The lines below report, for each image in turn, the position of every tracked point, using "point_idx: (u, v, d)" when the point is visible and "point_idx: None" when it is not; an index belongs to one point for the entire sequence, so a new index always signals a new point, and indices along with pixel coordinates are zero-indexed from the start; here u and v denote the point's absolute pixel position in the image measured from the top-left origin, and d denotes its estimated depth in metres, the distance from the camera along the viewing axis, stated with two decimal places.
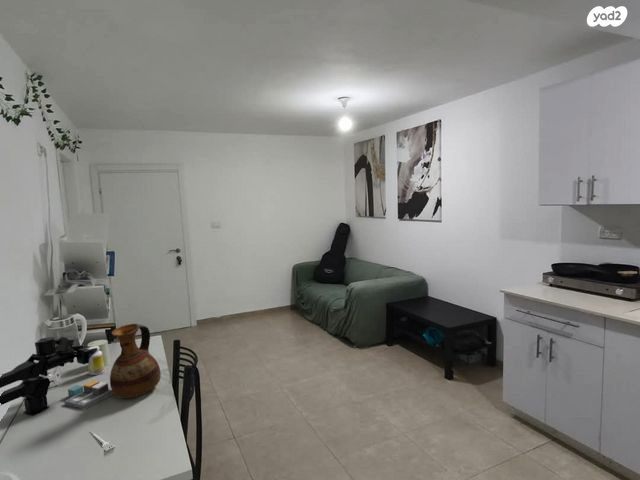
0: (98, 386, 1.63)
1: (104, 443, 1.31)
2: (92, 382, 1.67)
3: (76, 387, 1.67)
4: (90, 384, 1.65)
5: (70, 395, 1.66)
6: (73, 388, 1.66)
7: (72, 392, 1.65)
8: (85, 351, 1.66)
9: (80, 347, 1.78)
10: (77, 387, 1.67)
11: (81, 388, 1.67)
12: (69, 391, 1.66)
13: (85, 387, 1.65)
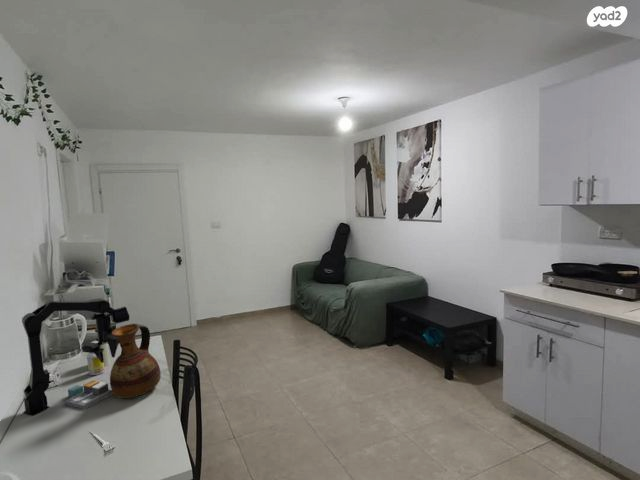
0: (98, 386, 1.63)
1: (104, 443, 1.31)
2: (92, 382, 1.67)
3: (76, 387, 1.67)
4: (90, 384, 1.65)
5: (70, 395, 1.66)
6: (73, 388, 1.66)
7: (72, 392, 1.65)
8: (90, 350, 1.64)
9: (112, 354, 1.76)
10: (77, 387, 1.67)
11: (81, 388, 1.67)
12: (69, 391, 1.66)
13: (85, 387, 1.65)
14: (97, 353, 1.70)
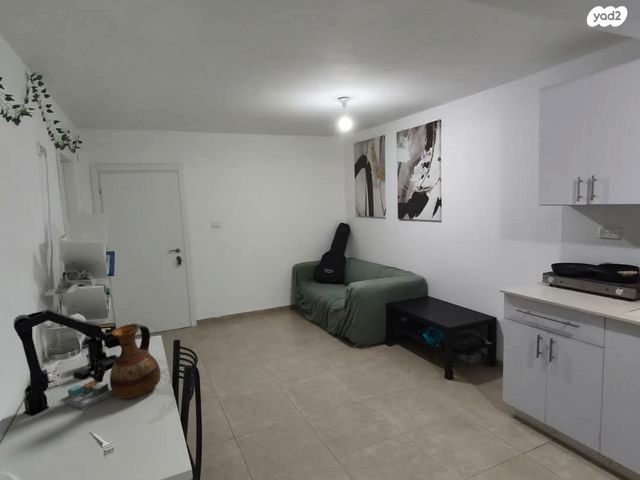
0: (98, 386, 1.63)
1: (104, 443, 1.30)
2: (92, 382, 1.67)
3: (76, 387, 1.67)
4: (90, 384, 1.65)
5: (70, 395, 1.66)
6: (73, 388, 1.66)
7: (72, 392, 1.65)
8: (82, 376, 1.60)
9: (99, 382, 1.70)
10: (77, 387, 1.67)
11: (81, 388, 1.67)
12: (69, 391, 1.66)
13: (85, 387, 1.64)
14: (94, 376, 1.69)
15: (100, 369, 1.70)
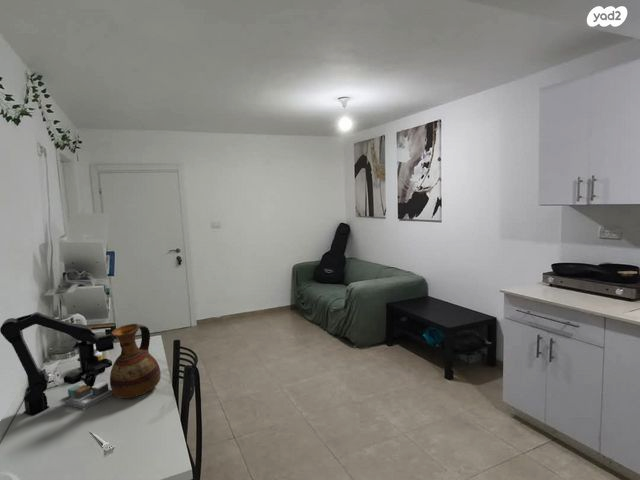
0: (98, 386, 1.63)
1: (104, 443, 1.30)
2: (83, 387, 1.63)
3: (76, 387, 1.67)
4: (81, 389, 1.61)
5: (70, 395, 1.66)
6: (73, 388, 1.66)
7: (72, 392, 1.65)
8: (72, 381, 1.56)
9: None
10: (77, 387, 1.67)
11: None
12: (69, 391, 1.66)
13: (75, 392, 1.61)
14: (85, 380, 1.65)
15: (91, 373, 1.66)
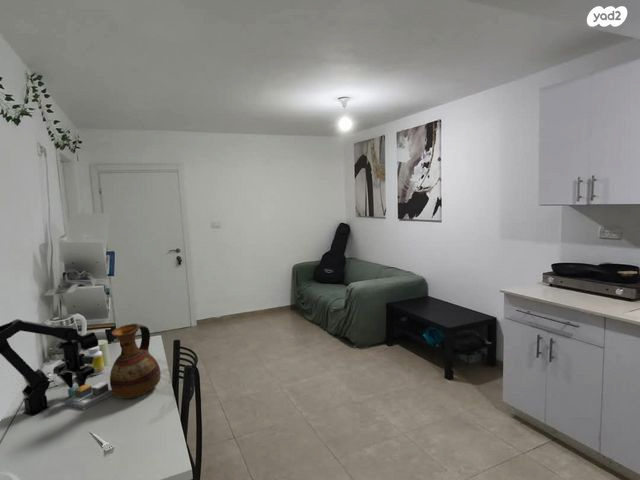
0: (98, 386, 1.63)
1: (104, 443, 1.30)
2: (84, 386, 1.64)
3: (76, 387, 1.67)
4: (82, 388, 1.62)
5: (70, 395, 1.66)
6: (73, 388, 1.66)
7: (72, 392, 1.65)
8: (93, 369, 1.65)
9: (70, 384, 1.68)
10: (77, 387, 1.67)
11: None
12: (69, 391, 1.66)
13: (76, 391, 1.61)
14: (81, 380, 1.64)
15: (68, 372, 1.68)
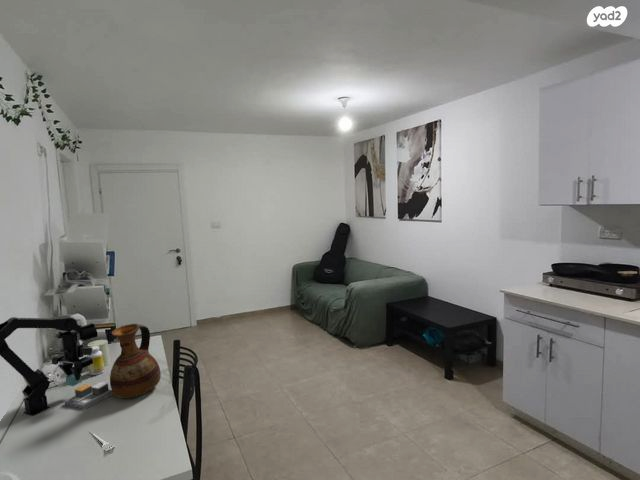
0: (98, 386, 1.63)
1: (104, 443, 1.30)
2: (84, 386, 1.64)
3: None
4: (82, 388, 1.62)
5: (68, 383, 1.65)
6: (71, 376, 1.65)
7: (70, 380, 1.64)
8: (92, 360, 1.65)
9: None
10: None
11: None
12: (67, 379, 1.65)
13: (77, 391, 1.61)
14: (77, 371, 1.64)
15: (68, 363, 1.67)
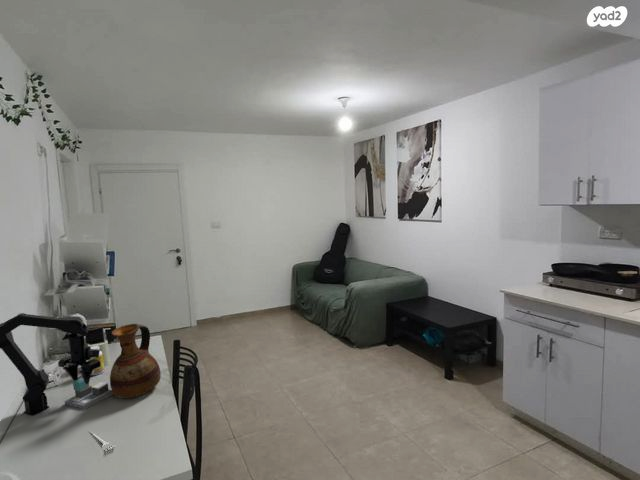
0: (98, 386, 1.63)
1: (104, 443, 1.30)
2: None
3: (81, 379, 1.62)
4: None
5: (75, 388, 1.61)
6: (78, 380, 1.61)
7: (77, 385, 1.60)
8: (100, 363, 1.60)
9: (76, 378, 1.63)
10: (82, 379, 1.62)
11: None
12: (74, 384, 1.60)
13: (77, 391, 1.61)
14: (86, 374, 1.59)
15: (73, 365, 1.64)
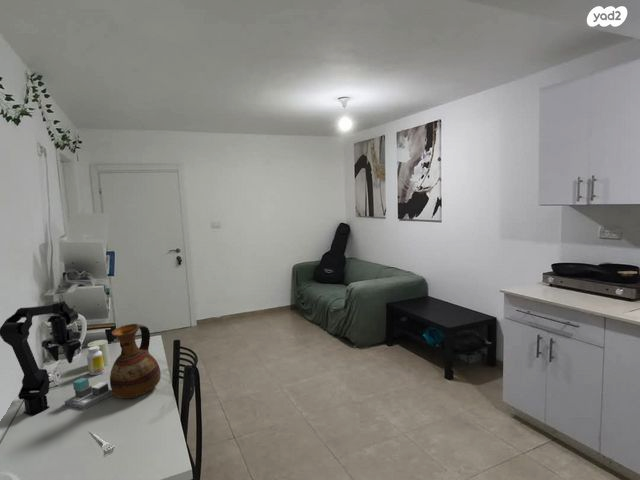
0: (98, 386, 1.63)
1: (104, 443, 1.30)
2: None
3: (81, 379, 1.62)
4: None
5: (75, 388, 1.61)
6: (78, 380, 1.61)
7: (77, 385, 1.60)
8: (80, 343, 1.72)
9: (56, 357, 1.76)
10: (82, 379, 1.62)
11: (86, 380, 1.62)
12: (74, 384, 1.60)
13: (77, 391, 1.61)
14: (69, 354, 1.71)
15: (54, 345, 1.76)
